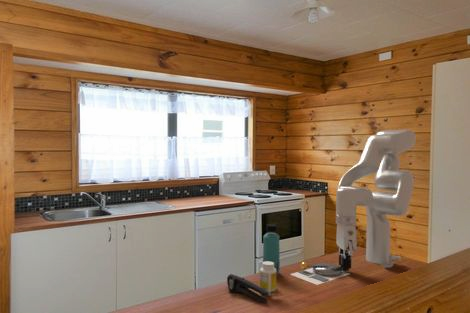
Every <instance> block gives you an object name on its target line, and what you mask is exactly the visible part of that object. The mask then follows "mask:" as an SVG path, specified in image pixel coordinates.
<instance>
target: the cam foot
mask: <svg viewBox="0 0 470 313" xmlns="http://www.w3.org/2000/svg"><path fill="white" fill-rule="evenodd" d="M343 258H344V253H341V265H339V264H335V263H329V262H317V263H316V262H315V263H313V264H308V263H307V262H304V261H303V262H301V264H300V267H301V269H303V270H307V269H308V268H313V272H315V273H317V274H320V275H324V276H338V275H341V274H342V271H344V272H348V271H350V269H343V268H342V264H343Z"/></svg>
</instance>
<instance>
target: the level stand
mask: <svg viewBox="0 0 470 313" xmlns="http://www.w3.org/2000/svg"><path fill="white" fill-rule="evenodd" d="M289 275H290V276H293V277H296V278H298V279H301V280H303V281H306V282H308V283H311V284H314V285H316V286H318V285H321V284H325V283H327V282H331V281H334V280H336V279H339V278H342V277H346V276H348V275H351V273H350V272H348V271H342V274H341V275H338V276H324V275H320V274H317V273H315V272H313V267H309V268H307V269H303V270H299V271H297V272H293V273H290V274H289Z"/></svg>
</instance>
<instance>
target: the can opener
mask: <svg viewBox="0 0 470 313" xmlns="http://www.w3.org/2000/svg"><path fill="white" fill-rule="evenodd" d="M226 282H227V288H228V291H230V292H232V293H242V294H243V293H244V294H245V295H246V296H249V297H251V299H253V300H255V299H256V300H255V301H257V300H259V301H261V302H260V303H262V302H267V303H268V300H267V299H266V298H265V297H267V296H268V295H269V293H268V292H267V291H265V290H264V289H262V288H261V287H260V285H258V284H256V283H253V282H252V281H250V280H248V279H245V276H239V275H235V274H232V273H231V274H228V276H227V278H226ZM258 293H259V294H258ZM262 295H263V296H262ZM264 296H265V297H264ZM259 301H258V302H259Z"/></svg>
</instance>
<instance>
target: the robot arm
mask: <svg viewBox="0 0 470 313" xmlns="http://www.w3.org/2000/svg"><path fill="white" fill-rule="evenodd" d="M416 140H417V138H416V134H415V132H414V131H413V130H412V129H409V128H407V129H387V130H386V129H385V130H380V131H378V132H377V133H376V134H372V135H369V137H368V138H367V140H366V143H365V145H364V147H363V150H362V152H361V155H360V158H359V160H358V162H357V163H356V164H355V165H354V166H352V167H351V168H349V169H348V170H347V171H346V172H345V173H344V174H343V175H342V177H341V178H340V181H339V183H338V186H337V189H336V193H335V194H336V201H335V224H337V225H336V232H335V233H336V235H335V236H336V237H335V238H336V245H337V246H338V266H341V253H344V258H343V264H342V268H343V269H349V270H350V269H352V256H353V255H354V252H356V251H357V244H358V243H357V229H356V225H357V207H365V214H366V236H365V237H366V240H365V241H366V242H365V243H366V245H365V249H366V250H365V254H366V255H365V260H366V261H367V262H369V263H371V264H377V265H379V266H381V267H382V268H383V269H390V268H393V267H394V261H396V262H397V261H399V262H401V261H402V257H401V256H400V255H395V254H391V253H390V251H391V250H390V248H391V222H390V219H389V218H388V216H393V217H404V216H405V215H406V214H407V213H408V211H409V208H410V203H411V199H412V195H413V191H414V186H415V179H414V175H413V173H412V172H411V171H409V170H405V169H400V165H401V160H400V157H399V156H398V154H402V153H404V152H407V151H409V150H410V149H412V148H413V147H414V146H415V144H416ZM373 174H375V177H374V186H375V188H376V189H378V190H381V191H377V190H375V191H374V190H373V191H371V190H370V189H369V188H366V187H362V186H355V185H354V184H355V183H356V182H358V181H359V180H361V179H363V178H365V177H368V176H370V175H371V176H372V175H373ZM353 185H354V186H353Z"/></svg>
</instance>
